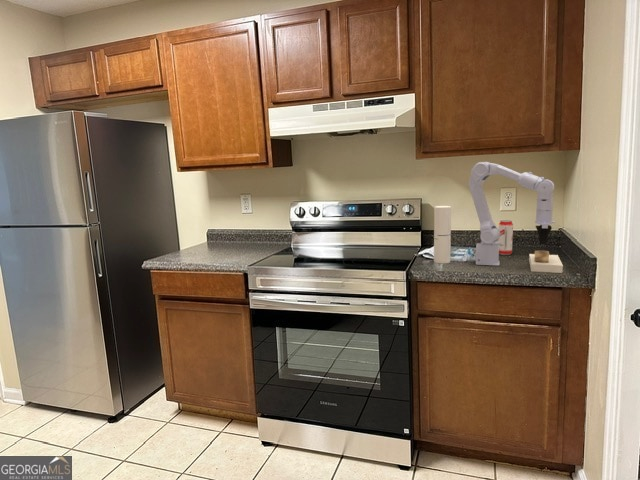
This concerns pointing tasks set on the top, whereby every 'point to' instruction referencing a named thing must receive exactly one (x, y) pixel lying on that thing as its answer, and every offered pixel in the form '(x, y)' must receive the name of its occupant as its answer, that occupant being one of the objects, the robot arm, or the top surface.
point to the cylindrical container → (442, 234)
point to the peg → (541, 256)
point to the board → (546, 264)
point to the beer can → (505, 237)
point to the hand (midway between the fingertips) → (542, 243)
